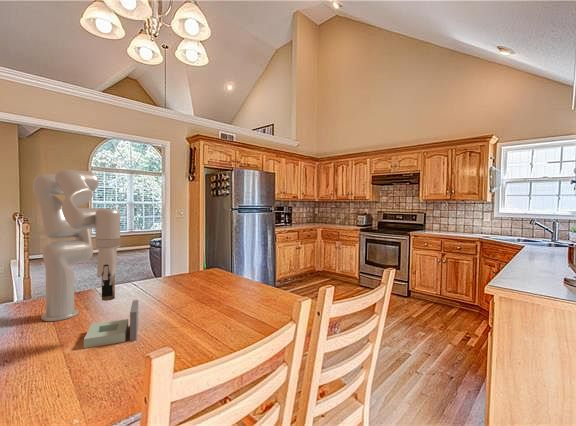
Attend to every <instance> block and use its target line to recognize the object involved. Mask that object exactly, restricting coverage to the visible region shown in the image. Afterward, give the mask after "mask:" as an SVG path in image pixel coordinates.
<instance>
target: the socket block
mask: <svg viewBox="0 0 576 426" xmlns="http://www.w3.org/2000/svg"><path fill="white" fill-rule="evenodd" d="M128 330H129V318H124V319H123V318H122V319H115V320H108V321H107V320H106V321H100V322H93V323H91V324H90V326H89V328H88V329H87V333H86V335H85V336H84V338H83V348H84V349H86V348H93V347H99V346H101V347H102V346H105V345H106V346H107V345H112V344H119V343H125V342H126V339H127V335H128Z"/></svg>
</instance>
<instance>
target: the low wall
mask: <svg viewBox="0 0 576 426" xmlns="http://www.w3.org/2000/svg"><path fill="white" fill-rule="evenodd" d="M129 311H130V312H129V341H130V342H132V341H137V338H138V330H139V299H134V300H132V302H131V307H130V310H129Z"/></svg>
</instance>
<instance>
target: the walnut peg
mask: <svg viewBox="0 0 576 426" xmlns="http://www.w3.org/2000/svg"><path fill="white" fill-rule="evenodd" d="M102 273H103V272H102ZM115 274H116V273H115ZM115 274H114V275H113V276H112V284H113V295H112V296H108V297H102V296H101V301H106V302H107V301H112V300H114V299H116V278H115V277H116V275H115ZM108 276H110V274H108ZM108 279H110V278H108Z"/></svg>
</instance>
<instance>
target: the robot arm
mask: <svg viewBox="0 0 576 426" xmlns="http://www.w3.org/2000/svg"><path fill="white" fill-rule="evenodd" d="M98 187H99V178H98V176H97V175H96V174H95V173H93V172H92V171H88V170H87V171H86V170H77V169H62V170H59V171H58V172H56V174H54V173H43V174H39V175H36V176H35V178H34V179H33V182H32V190H33V194H34V197H35V199H36V201H37V203H38V206H39V208H40V212H41V220H42V226H43V231H44V235H45V236H46V238H47V239H50V240H51V239H53V240H57V239H71V238H72V239H74V240H61V241H58V240H57V241H53V242H49V243H47V244H46V245H44V247H43V249H42V258H43V262H44V268H45V313H43V314H42V315H41V316H40V320H42V321H45V322H55V321H62V320H66V319H70V318H73V317H74V316H75V317H76V316H77V315H78V314H79V311H80V310H79V309H78V308H75V272H74V270H73V269H72V268H71V267H70V266H69V265H68V264H70V263H77V262H84V261H88V260H90V259H91V258H92V257H93V254H94V247H93V240H92V235H91V229H95V249H97V250H98V251H97V252H98V253H97V267H96V269H97V271H96V277H97V278H101V298H102V297H108V296H112V295H113V284H112V276H113V275H114V274H116V272H117V262H118V261H117V257H118V255H117V251H118V250H117V249H118V248H120V247H121V213H120V211H119V209H115V208H105V207H103V208H102V207H101V208H100V207H99V208H98V207H97V208H95V207H94V208H93V207H91V208H90V207H88V208H87V207H83V208H82V206H84V205H86V204H89V202H90V201H92V198H93V196H94V193H93V192H94V191H96V190H97V189H98ZM56 195H61V196H63V195H64V196H65V198H64V199H63V201H62V200H61V199H60V198H59V197H58V196H56ZM102 272H103V273H102ZM108 274H110V276H108ZM108 278H110V279H108Z"/></svg>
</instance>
